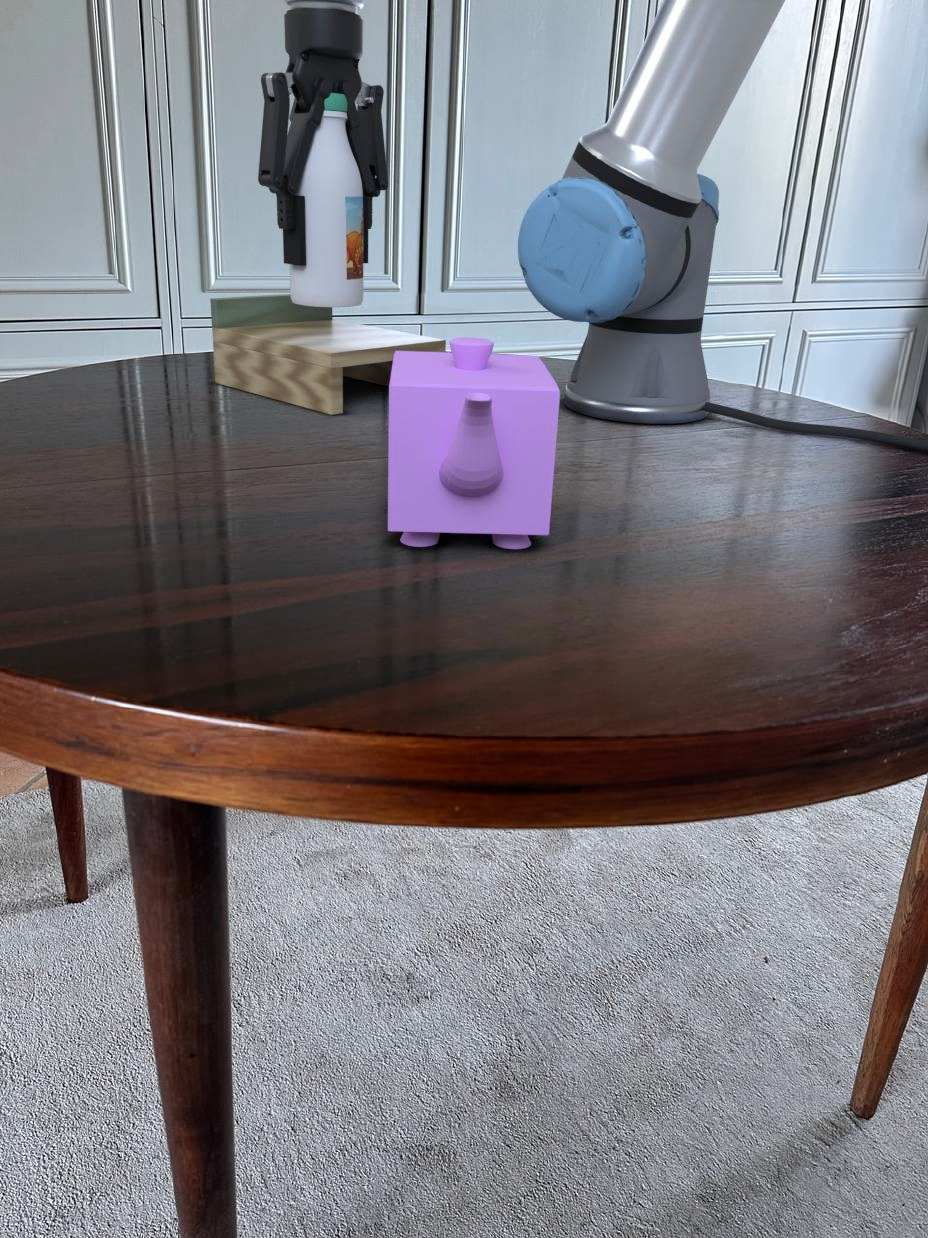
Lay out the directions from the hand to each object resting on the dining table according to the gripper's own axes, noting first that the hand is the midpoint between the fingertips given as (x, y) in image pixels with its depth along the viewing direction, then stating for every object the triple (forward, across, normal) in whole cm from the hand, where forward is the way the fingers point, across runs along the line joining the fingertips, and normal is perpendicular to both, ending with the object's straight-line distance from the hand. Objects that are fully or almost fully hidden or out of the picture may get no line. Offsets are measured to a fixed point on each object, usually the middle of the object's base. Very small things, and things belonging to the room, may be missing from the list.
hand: (327, 262), depth 104 cm
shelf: (+13, 0, 0) cm, 13 cm away
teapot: (+13, +24, +43) cm, 51 cm away
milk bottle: (+4, 0, 0) cm, 4 cm away
